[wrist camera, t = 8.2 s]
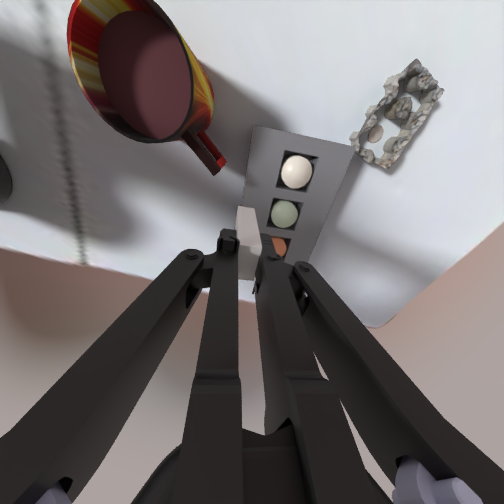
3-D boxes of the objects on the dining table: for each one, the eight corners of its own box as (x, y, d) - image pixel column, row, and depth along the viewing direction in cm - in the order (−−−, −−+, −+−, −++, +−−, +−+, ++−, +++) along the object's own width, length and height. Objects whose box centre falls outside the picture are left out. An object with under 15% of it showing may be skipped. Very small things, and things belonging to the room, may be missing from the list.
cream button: (276, 180, 29) (279, 185, 27) (282, 151, 27) (286, 153, 25) (300, 185, 30) (306, 190, 27) (309, 157, 28) (316, 159, 25)
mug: (225, 165, 30) (215, 182, 20) (135, 116, 26) (67, 107, 16) (253, 98, 25) (257, 76, 15) (149, 26, 21) (65, -66, 11)
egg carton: (371, 168, 31) (386, 173, 28) (339, 143, 29) (351, 145, 26) (431, 97, 26) (458, 92, 23) (397, 61, 24) (422, 49, 20)
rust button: (259, 248, 36) (261, 257, 34) (264, 229, 34) (266, 237, 32) (280, 250, 37) (282, 260, 34) (285, 232, 35) (289, 241, 32)
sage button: (267, 218, 33) (269, 225, 30) (272, 194, 31) (275, 201, 28) (289, 221, 33) (293, 229, 31) (296, 199, 31) (301, 205, 29)
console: (234, 249, 39) (233, 263, 35) (253, 125, 27) (254, 124, 23) (297, 257, 41) (303, 272, 36) (340, 144, 29) (356, 147, 25)
